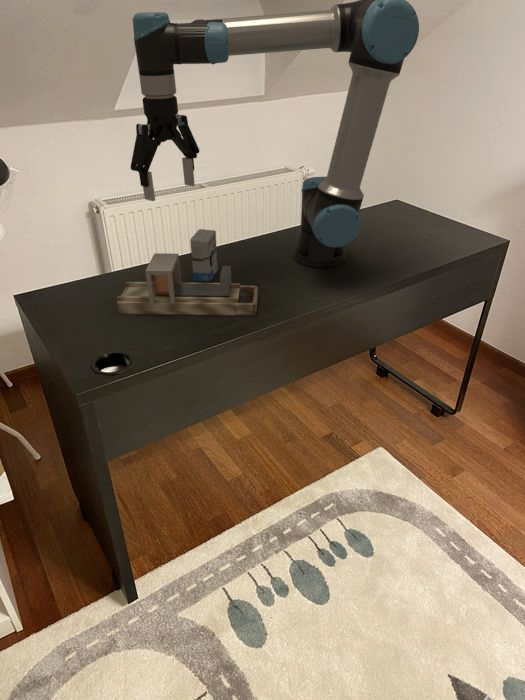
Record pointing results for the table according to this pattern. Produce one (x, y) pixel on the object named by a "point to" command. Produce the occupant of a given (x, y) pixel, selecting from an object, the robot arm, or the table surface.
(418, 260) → the table surface
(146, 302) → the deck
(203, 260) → the ink box
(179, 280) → the tunnel
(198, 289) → the sled
